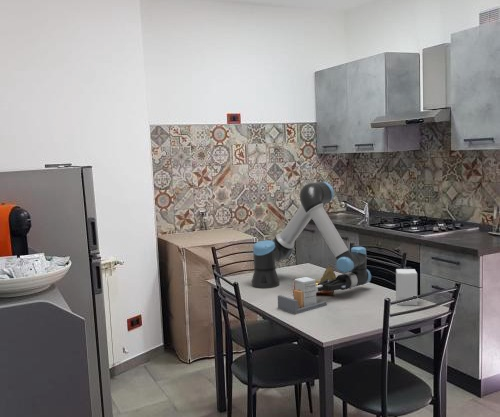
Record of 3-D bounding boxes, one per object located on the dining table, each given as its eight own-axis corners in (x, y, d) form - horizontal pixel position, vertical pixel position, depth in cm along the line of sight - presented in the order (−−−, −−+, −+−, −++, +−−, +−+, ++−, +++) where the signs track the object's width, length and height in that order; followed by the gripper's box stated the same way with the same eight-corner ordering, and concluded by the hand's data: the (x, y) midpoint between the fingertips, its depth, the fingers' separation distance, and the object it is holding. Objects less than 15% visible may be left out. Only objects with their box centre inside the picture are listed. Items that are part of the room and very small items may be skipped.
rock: (343, 283, 269) (339, 276, 279) (333, 271, 267) (329, 264, 277) (326, 296, 270) (323, 288, 280) (316, 284, 268) (313, 277, 278)
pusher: (288, 308, 238) (288, 291, 237) (296, 306, 241) (295, 289, 240) (295, 310, 234) (295, 293, 233) (303, 308, 237) (302, 291, 236)
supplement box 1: (294, 305, 243) (293, 278, 241) (307, 302, 246) (306, 276, 245) (303, 309, 236) (303, 282, 235) (317, 306, 240) (316, 279, 238)
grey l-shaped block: (278, 308, 239) (277, 295, 238) (308, 299, 250) (308, 287, 250) (295, 314, 229) (295, 301, 228) (326, 305, 241) (326, 292, 240)
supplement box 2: (417, 305, 235) (417, 273, 233) (397, 305, 236) (397, 273, 235) (415, 299, 243) (415, 268, 242) (395, 299, 245) (395, 268, 244)
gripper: (356, 291, 252) (321, 301, 238) (336, 286, 262) (302, 295, 248) (356, 276, 251) (321, 285, 237) (336, 271, 262) (301, 280, 247)
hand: (311, 290), depth 243 cm, fingers closed
